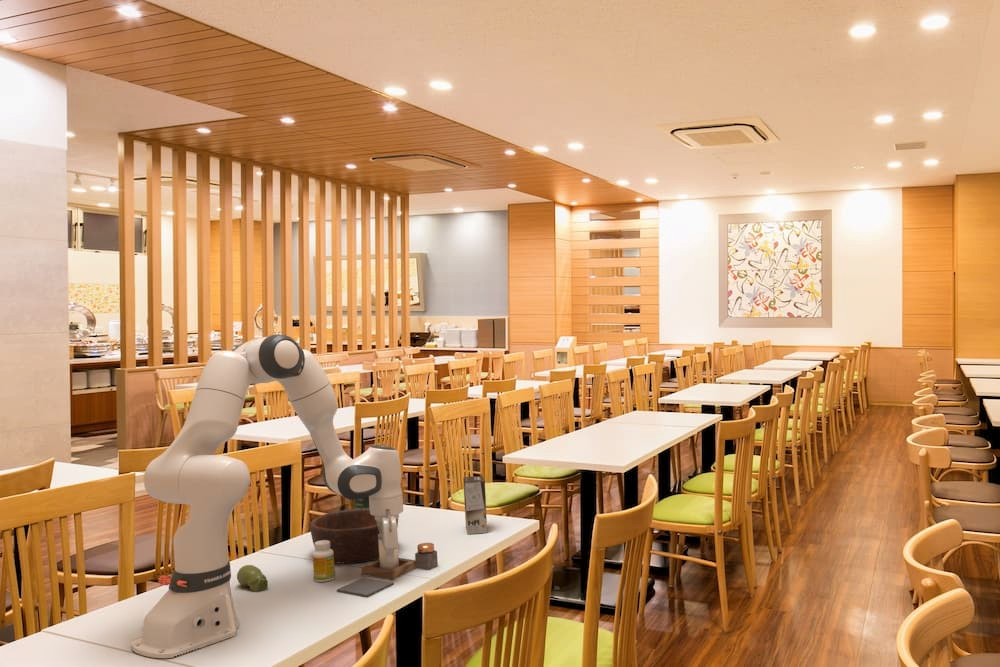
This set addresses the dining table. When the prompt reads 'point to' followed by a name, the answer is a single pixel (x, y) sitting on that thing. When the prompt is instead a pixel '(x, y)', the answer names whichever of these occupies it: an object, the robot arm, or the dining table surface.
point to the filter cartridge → (382, 556)
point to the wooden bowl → (348, 534)
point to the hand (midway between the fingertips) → (389, 557)
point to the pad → (365, 587)
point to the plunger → (425, 548)
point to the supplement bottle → (323, 562)
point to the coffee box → (475, 504)
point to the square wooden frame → (401, 566)
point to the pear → (252, 578)
